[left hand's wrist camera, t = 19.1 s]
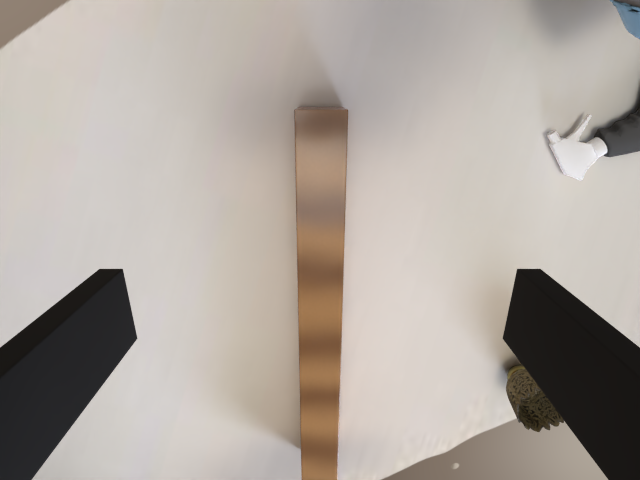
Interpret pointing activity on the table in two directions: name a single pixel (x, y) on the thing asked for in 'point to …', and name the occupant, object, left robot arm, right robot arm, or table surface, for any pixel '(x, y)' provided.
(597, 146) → the spray bottle
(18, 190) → the table surface
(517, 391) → the cup
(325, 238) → the bar
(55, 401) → the left robot arm
